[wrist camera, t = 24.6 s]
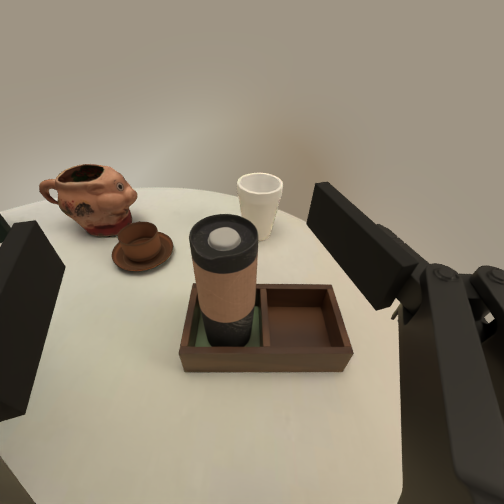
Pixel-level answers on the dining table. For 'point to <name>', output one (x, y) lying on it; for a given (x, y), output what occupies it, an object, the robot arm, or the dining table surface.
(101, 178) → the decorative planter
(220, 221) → the travel mug
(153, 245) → the cup and saucer
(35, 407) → the dining table surface
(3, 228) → the wine bottle
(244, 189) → the foam cup
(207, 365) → the divided box
